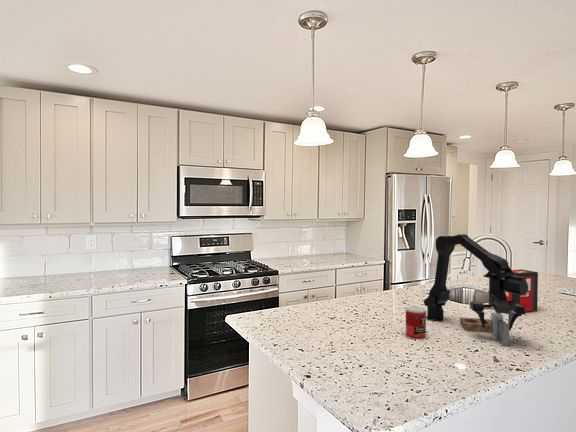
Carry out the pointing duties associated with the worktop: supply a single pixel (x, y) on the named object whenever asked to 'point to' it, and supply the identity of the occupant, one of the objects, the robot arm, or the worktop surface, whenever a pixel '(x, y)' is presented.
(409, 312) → the canned food
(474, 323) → the brown wooden slotted frame
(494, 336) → the square bit
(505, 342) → the grey rectangular block
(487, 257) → the robot arm
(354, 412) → the worktop surface
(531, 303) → the cleaning product box
